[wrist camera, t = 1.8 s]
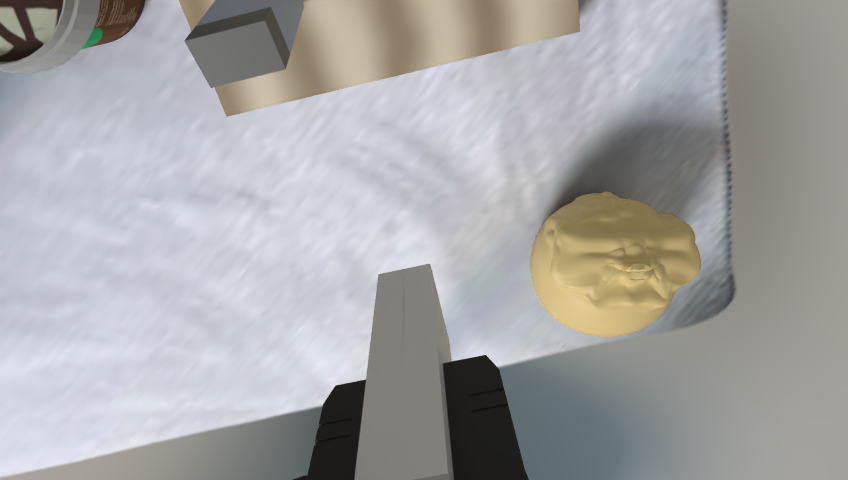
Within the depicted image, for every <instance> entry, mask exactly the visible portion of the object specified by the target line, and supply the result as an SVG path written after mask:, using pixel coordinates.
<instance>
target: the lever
mask: <svg viewBox="0 0 848 480" xmlns="http://www.w3.org/2000/svg"><path fill="white" fill-rule="evenodd" d="M303 9H304V4H303V1H302V0H215V1H214V3H213V4H212V5H211V7H210V8H209V9H208V11H207V12H206V13H205V15H204V16H203V17H202V18H201V20H200V21H199V22H198V24H197V25H196V26H195V28H194V29H193V30H192V32H191V33H190V34H189V36H188V37H187V38H186V40H185V43H186V45H187V46H188V48H189V50H190V52H191V53H192V55H193V57H194V59H195V61H196V62H197V64H198V66H199V68H200V69H201V71H202V73H203V75H204V76H205V78H206V80H207V82H208V84H209V85H210V87H211V88H213V87H217V86H221V85H225V84H229V83H233V82H237V81H241V80H245V79H249V78H253V77H257V76H261V75H265V74H270V73H274V72H278V71H282V70H286V67H287V64H288V60H289V57H290V53H291V50H292V47H293V43H294V40H295V36H296V33H297V29H298V26H299V23H300V19H301V16H302V12H303Z"/></svg>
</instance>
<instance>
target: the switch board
mask: <svg viewBox="0 0 848 480" xmlns="http://www.w3.org/2000/svg"><path fill="white" fill-rule="evenodd" d="M214 1H215V0H179V2H180V4H181V7H182V9H183V12H184V14H185V16H186V19H187V21H188V24H189V26H190V29H191V31H192V30H193V29H194V28H195V26H196V25H197V24H198V22H199V21H200V20H201V18H202V17H203V16H204V15H205V13H206V12H207V11H208V9H209V8H210V7H211V5H212V4H213V3H214ZM302 1H303V4H304V9H303V12H302V16H301V19H300V23H299V26H298V29H297V33H296V36H295V40H294V43H293V47H292V50H291V53H290V57H289V60H288V64H287V67H286V70H282V71H278V72H274V73H270V74H265V75H261V76H257V77H253V78H249V79H245V80H241V81H237V82H233V83H229V84H225V85H221V86H217V87H215V90H216V92H217V94H218V97H219V99H220V102H221V104H222V107H223V109H224V112H225V114H226V116H231V115H235V114H240V113H244V112H248V111H252V110H256V109H260V108H264V107H269V106H273V105H277V104H281V103H285V102H289V101H294V100H298V99H302V98H306V97H310V96H314V95H318V94H323V93H327V92H331V91H335V90H339V89H343V88H348V87H352V86H356V85H360V84H364V83H368V82H372V81H377V80H381V79H385V78H389V77H393V76H397V75H402V74H406V73H410V72H414V71H418V70H422V69H426V68H431V67H435V66H439V65H443V64H447V63H451V62H456V61H460V60H464V59H468V58H472V57H476V56H480V55H485V54H489V53H493V52H497V51H501V50H505V49H510V48H514V47H518V46H522V45H526V44H530V43H534V42H539V41H543V40H547V39H551V38H555V37H559V36H564V35H568V34H572V33H576V32H580V23H579V8H578V0H302Z"/></svg>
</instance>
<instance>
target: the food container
mask: <svg viewBox="0 0 848 480" xmlns="http://www.w3.org/2000/svg"><path fill="white" fill-rule="evenodd" d="M144 2H145V0H0V71H1V72H9V73H17V74H20V73H37V72H41V71H46V70H50V69H52V68H55V67H57V66H59V65H61V64H63V63H65V62H66V61H68V60H69V59H71V58H72V57H73V56H75V55H76V54H77V53H78V51H79V50H80V49H84V48H88V47H93V46H97V45H101V44H105V43H109V42H113V41H115V40H117V39H119V38H121V37H123V36H124V35H125V34H127V33H128V32H129V31H130V30H131V29H132V28H133V27H134V26H135V24H136V23H137V21H138V19H139V18H140V15H141V13H142V10H143V7H144Z"/></svg>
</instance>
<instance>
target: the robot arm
mask: <svg viewBox="0 0 848 480" xmlns="http://www.w3.org/2000/svg"><path fill="white" fill-rule="evenodd" d="M315 443H316V445H315V446H314V449H313V453H312V458H311V462H310V467H309V471H308V476H302V477H300V478H296V479H293V480H529V479H528V477H527V474H526V472H525V469H524V465H523V461H522V457H521V453H520V449H519V446H518V442H517V438H516V434H515V430H514V426H513V422H512V418H511V414H510V410H509V407H508V403H507V399H506V395H505V391H504V387H503V383H502V379H501V375H500V371H499V369H498V368H497V367H496V365H495V364H494V363H493V362H492V361H491V360H490V359H489V358H488V357H487V356H486V355H483V356H478V357H473V358H468V359H463V360H457V361H452V360H451V352H450V344H449V338H448V334H447V330H446V326H445V322H444V318H443V314H442V310H441V306H440V302H439V298H438V294H437V290H436V286H435V282H434V278H433V274H432V269H431V265H430V264H426V265H421V266H417V267H412V268H407V269H402V270H397V271H393V272H388V273H383V274H379V275H378V283H377V292H376V300H375V309H374V317H373V326H372V334H371V343H370V351H369V360H368V368H367V377H366V380H362V381H357V382H351V383H346V384H341V385H336V386H335V387H334V389H333V390H332V392H331V393H330V395H329V396H328V398H327V399H326V401H325V403H324V404H323V408H322V413H321V417H320V422H319V428H318V431H317V435H316V440H315Z"/></svg>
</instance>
